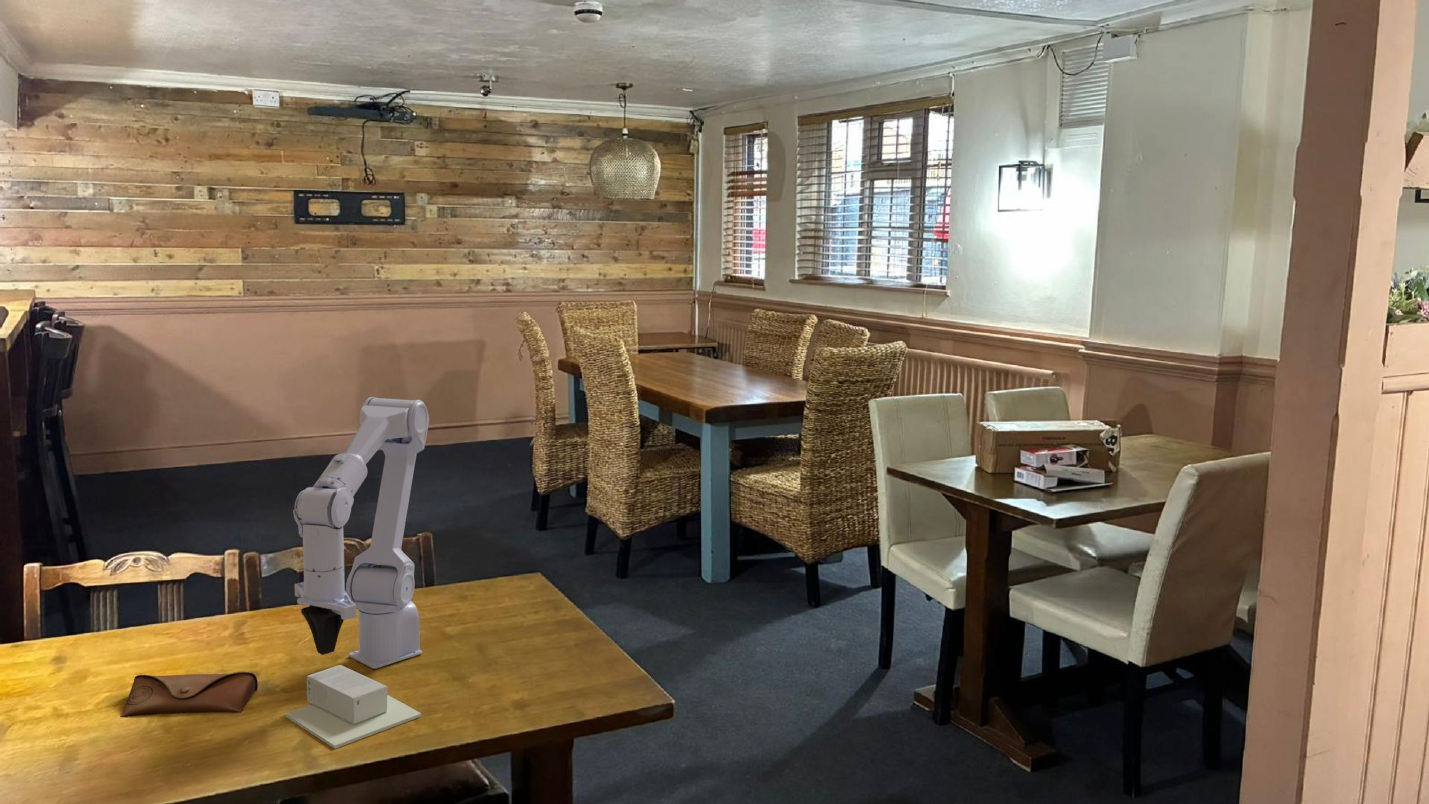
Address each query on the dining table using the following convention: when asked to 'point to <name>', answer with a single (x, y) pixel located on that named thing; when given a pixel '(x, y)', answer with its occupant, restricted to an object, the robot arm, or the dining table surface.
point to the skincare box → (347, 694)
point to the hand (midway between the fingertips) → (326, 652)
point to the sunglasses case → (190, 693)
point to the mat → (345, 732)
